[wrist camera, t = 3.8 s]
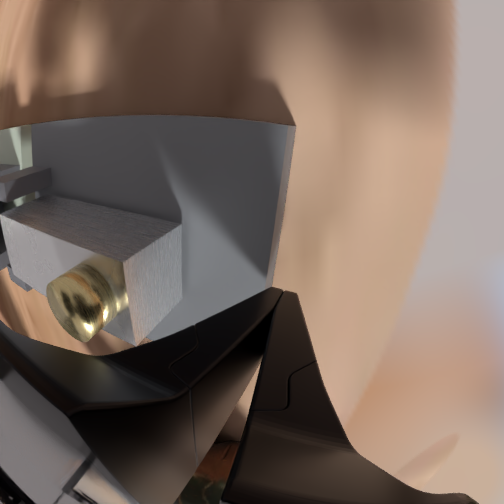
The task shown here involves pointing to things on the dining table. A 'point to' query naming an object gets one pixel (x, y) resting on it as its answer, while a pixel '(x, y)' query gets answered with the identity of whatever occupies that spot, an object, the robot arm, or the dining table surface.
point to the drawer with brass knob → (96, 264)
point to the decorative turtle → (210, 476)
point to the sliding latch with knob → (167, 192)
